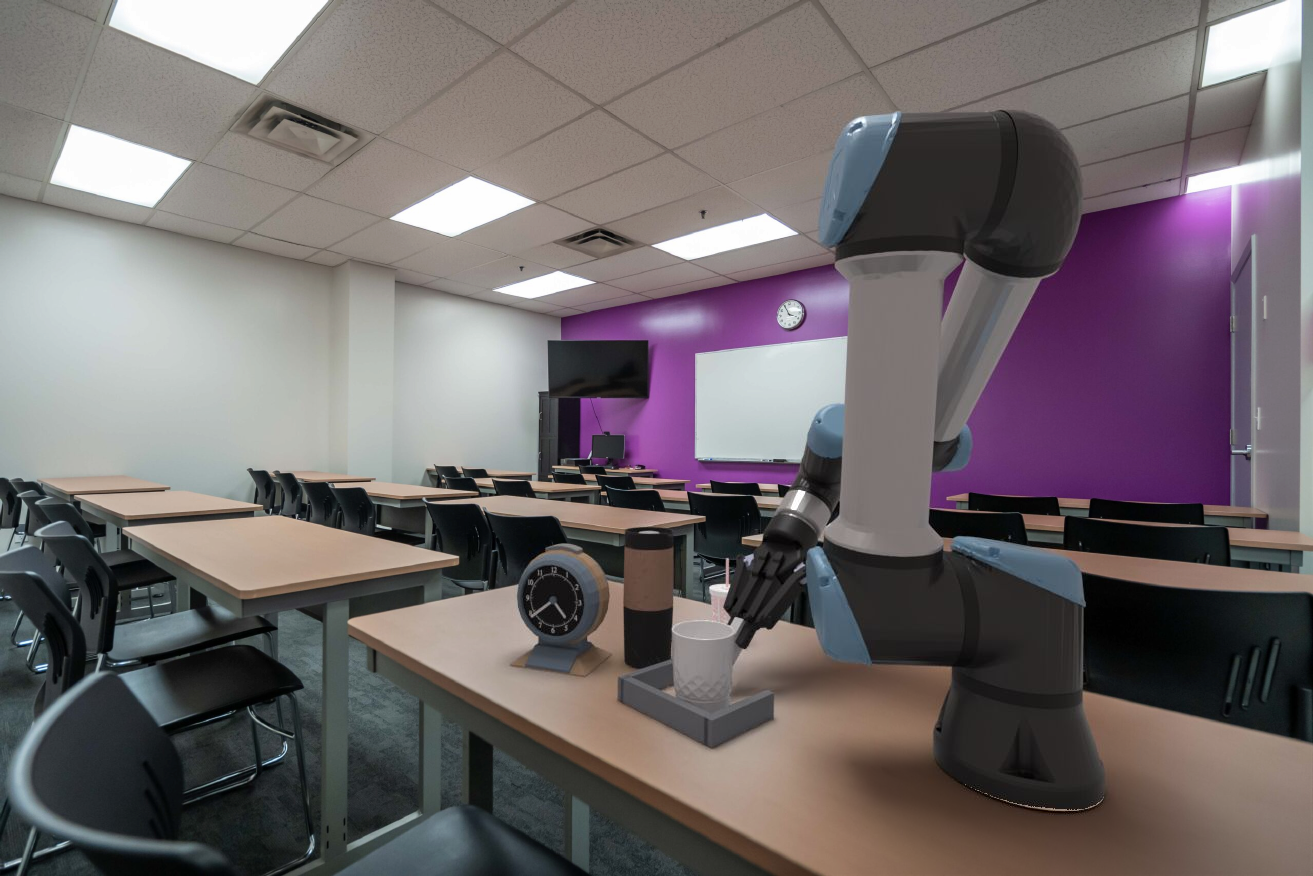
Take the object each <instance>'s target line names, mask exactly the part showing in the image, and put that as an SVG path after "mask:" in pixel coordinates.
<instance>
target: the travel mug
mask: <svg viewBox="0 0 1313 876" xmlns="http://www.w3.org/2000/svg"><path fill="white" fill-rule="evenodd" d="M674 535H675V533H674V530H673V529H672V528H668V527H660V526H659V527H658V526H657V527H656V526H634V527H628V528H626V529H625V531H624V557H623V558H624V560H623V561H624V563H623V564H624V565H623V568H624V569H623V596H622V597H623V598H622V599H623V603H622V604H623V607H622V609H623V655H624V663H625V664H626V665H627V666H629V667H631V668H634V669H637V670H639V669H643V668H646V667H649V666H652V665H655V664H658V663H661V662H664V661H667V660H670V659H672V627H673V623H674V622H673V619H674V618H673V616H674Z"/></svg>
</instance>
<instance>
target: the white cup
mask: <svg viewBox="0 0 1313 876" xmlns="http://www.w3.org/2000/svg"><path fill="white" fill-rule="evenodd" d="M734 637H735V630H734V629H733V628H732V627H731V626H729V625H727V624H724V623H720V622H715V621H712V620H705V619H704V620H701V619H699V620H698V619H697V620H695V619H694V620H686V621H685V620H684V621H681V622H678V623H676V624H674V625H672V646H671V655H672V659H673V677H674V685H673V687H674V697H676V698H678V699H680V700H683V701H685V702H687V703H689V704H691V705H694V706H696V707H698V708H700V709H702V710H705V711H707V712H709V713H711V714H712V713H714V712H716V711H718V710H721V709H723V708H725V707H728V706H730V705H731V688H732V682H733V670H734V666H733V656H734Z"/></svg>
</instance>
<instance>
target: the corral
mask: <svg viewBox="0 0 1313 876" xmlns="http://www.w3.org/2000/svg"><path fill="white" fill-rule="evenodd" d="M671 686H674V677H673V658H671V659H670V660H667V661H664V662H661V663H658V664H655V665H652V666H649V667H646V668H643V669H637V670H634V671H630V672H627V673H625V674H622V675H618V676H617V700H618V701H619V702H621V703H623V704H625V705H627V706H629V707H631V708H633V709H635V710H636V711H639V712H641V713H642V714H644V715H646V716H649V717H650V718H652V719H654V720H656V721H658V722H660V723H661V724H664V725H666V726H667V727H669V728H671V729H674V730H676V731H678V732H679V733H681V734H683V735H685V736H687V737H689V738H691V739H693V740H695V741H696V742H699V743H701V744H703V745H704V746H707V748H708V747H709V748H710V749H713V748H715V747H718V746H719V745H721V744H724V743H725V742H727V741H729V740H731V739H733V738H736V737H737V736H739V735H742V734H744V733H745V732H747V731H749V730H751V729H754V728H756V727H758V726H760V725H761V724H764V723H765V722H768V721H771V720H773V719H774V717H775V693H774V692H773V691H771V690H767V689H765V690H762V691H761V692H758V693H756V694H755V693H754V694H753V695H751V696H749V697H746V698H744V699H742V700H739V701H737V702H734V703H732V704H730V706H728V707H725V708H723V709H721V710H718V711H716V712H714V713H712V714H711V713H709V712H707V711H705V710H702V709H700V708H698V707H696V706H694V705H691V704H689V703H687V702H685V701H683V700H680V699H678V698H676V697H675V695H674V696H673V695H671V694H670V693H667V692H665V691H663V690H662V689H665V688H668V687H671Z"/></svg>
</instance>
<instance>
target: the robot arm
mask: <svg viewBox="0 0 1313 876" xmlns="http://www.w3.org/2000/svg"><path fill="white" fill-rule="evenodd" d="M823 186H824V187H823V190H822V195H821V202H820V208H819V214H818V215H819V216H818V241H819V243H820V245H821V246H823V247H825V248H827V249H829V250H830V249H833V248H834V250H835V251H834V252H835V253H834V268H835V269H836V271H838V272H839V273H840V274H841V276H842V277H843V278H845V279H846V281H847V282H848V284H849V292H848V293H849V294H848V295H849V296H848V317H847V319H848V320H847V341H846V358H845V359H846V361H845V381H844V382H845V384H844V403H839V402H837V403H832V404H831V403H830V404H827V405H825V406H823V407H821V408H820V409H819V410H818V411H817V412H816V414H815V415H814V417H813V420H812V421H811V424H810V427H809V428H808V431H807V437H806V441H805V446H804V451H803V455H802V458H801V461H800V464H799V468H798V469H799V470H797V471H798V472H797V474H796V475H795V478H794V479H793V481H792V483H791V484H790V487H789V489H788V490H787V491H786V494H785V495H784V497H782V500H781V501H780V503H779V505H778V507H777V508H776V510H775V512H774V515H773V516H772V517H771V519H770V520H769V523H768V525H767V526H766V528H765V530H764V532H763V534H762V540H761V543H760V544H759V546H758V547H756V548H755V549H754V550H753V553H751V554H749V555H746V556H745V555H744V554H743V553H739V554H737V555H736V558H735V561H736V564H735V565H736V567H735V570H734V573H733V576H732V580H731V582H730V584H731V585H730V588H729V591H728V594H727V597H726V600H725V603H724V606H723V608H724V609H725V611H726V612H727V613H728V614H729V616H730V620H729V622H728V623H727V625H729V626H731V627H732V628H733V629H734V630H735V637H734V656H733V667H734V666H735V664H736V662H737V660H738V658H739V656H740V654H741V653H742V650H747V649H748V648H749V646H750V644H751V642H752V641H753V639H754V636H755V635H756V632H758V631H759V630H760V629H766V630H769V631H770V630H772V629H773V628H774V627H775V625H777V623H778V622H779V621H780V620H781V618H782V617H783V616H784V615H785V613H786V612H787V610H789V609H790V607H791V606H792V605H793V603H794V602H795V601H796V600H797V599H798V598H799V596H800V594H801V593H802V592H803V591H804V590H805V589H806V588H807V593H808V600H809V605H810V611H811V615H812V616H811V617H812V621H813V625H814V630H815V633H816V636H817V640H818V641H819V644H820V647H821V649H822V650H823V652H824V653H825V654H826V655H827V656H828V657H829V658H830V659H831V660H834V661H836V662H843V663H854V664H864V665H865V666H867V667H872V665H881V666H882V665H883V666H884V665H886V666H912V667H914V666H915V667H918V666H919V667H940V668H941V667H943V668H950V667H951V681H950V686H949V687H948V690H947V693H946V696H945V698H944V701H943V704H942V707H941V708H940V712H939V713H938V718H937V721H936V723H935V725H934V727H933V733H932V754H933V757H934V759H935V761H936V763H937V764H938V766H940V768H941V769H943V771H944V772H945V773H947V772H948V773H949V774H950V776H951V777H952V776H953V777H954V778H953V777H952V778H953V779H955V780H956V779H957V780H956V781H958V780H959V781H960V783H961V782H962V783H961V784H963V785H964V784H966V785H967V786H966V785H965V786H966V787H968V786H969V787H968V788H970V787H972V788H973V789H972V788H971V789H972V790H974V789H976V790H979V791H981V792H983V793H987V794H988V795H991V796H993V797H996V798H999V799H1003V800H1007V801H1009V802H1013V803H1017V804H1022V805H1028V806H1031V807H1032V806H1033V807H1034V806H1035V807H1041V808H1042V807H1045V808H1053V809H1054V808H1055V809H1067V810H1069V809H1070V810H1071V809H1072V810H1074V809H1075V810H1077V809H1085V808H1088V807H1090V806H1093V805H1096V804H1097V803H1098V802H1100V801H1101V800H1102V799H1103V797H1104V795H1105V796H1106V770H1105V766H1104V764H1103V761H1102V760H1101V757H1100V754H1099V751H1098V748H1097V745H1096V742H1095V739H1094V735H1093V733H1092V730H1091V727H1090V725H1089V721H1088V719H1087V715H1086V713H1085V709H1084V699H1083V698H1084V695H1083V694H1084V692H1083V691H1084V687H1083V686H1084V684H1083V683H1084V608H1086V605H1087V603H1086V601H1085V594H1084V593H1085V592H1084V586H1083V585H1084V584H1083V575H1082V571H1081V569H1080V567H1079V565H1078V564H1077V563H1076V562H1075V561H1074V560H1072V558H1069V557H1068V556H1066V555H1062V554H1060V553H1058V552H1053V551H1049V550H1045V549H1042V548H1037V547H1032V546H1029V545H1024V544H1023V545H1022V544H1017V543H1013V542H1007V541H1003V540H995V539H989V538H983V537H975V536H961V535H959V536H958V535H957V536H955V537H953V539H952V541H951V544H949V548H950V551H948V550H947V551H946V550H945V551H944V547H945V545H944V543H945V542H944V539H943V538H942V537H941V536H940V535H939V534H938V533H937V532H936V531H935V530H934V528H932V526H931V525H930V523H929V520H930V519H929V517H930V502H931V501H930V500H931V489H932V487H931V486H932V474H933V473H936V474H937V473H941V472H956V471H960V470H962V469H964V468H965V467H966V466H967V465H968V464H969V461H970V459H971V452H972V449H973V436H972V433H971V430H970V428H969V426H968V424H967V422H968V420H969V418H970V416H971V415H972V413H973V410H974V409H975V407H976V404H977V403H978V401H979V399H980V397H981V395H982V393H983V391H984V389H985V388H986V385H987V384H988V382H989V380H990V378H991V376H992V374H993V372H994V370H995V368H996V367H997V365H998V363H999V361H1000V359H1001V357H1002V355H1003V353H1004V351H1005V350H1006V348H1007V346H1008V344H1009V342H1010V340H1011V338H1012V336H1013V335H1014V332H1015V331H1016V328H1017V327H1018V324H1019V323H1020V321H1021V319H1022V317H1023V315H1024V313H1025V311H1026V310H1027V307H1028V305H1029V304H1030V302H1031V299H1032V298H1033V296H1034V294H1035V293H1036V290H1037V288H1038V286H1039V285H1040V282H1041V281H1042V279H1043V280H1044V279H1046V278H1049V277H1051V276H1054V275H1055V274H1056V273H1057V272H1058V271H1059V270H1060V269H1061V266H1062V265H1063V263H1064V261H1065V259H1066V258H1067V255H1068V253H1069V251H1070V250H1071V249H1072V246H1073V244H1074V242H1075V239H1076V237H1077V234H1078V231H1079V226H1080V222H1081V220H1082V219H1081V218H1082V214H1083V205H1084V198H1085V197H1084V192H1085V191H1084V180H1083V174H1082V169H1081V166H1080V162H1079V159H1078V155H1077V154H1076V151H1075V149H1074V147H1073V145H1072V144H1071V143H1070V141H1069V140H1068V138H1067V137H1066V135H1065V134H1064V133H1063V132H1062V130H1060V129H1059V128H1058V127H1057V126H1056V125H1055V123H1053V122H1051V121H1049V120H1048V119H1046V118H1044V117H1043V116H1041V115H1038V114H1037V113H1033V112H1029V111H1025V110H1021V109H1020V110H1017V109H998V110H994V111H993V110H992V111H985V110H984V111H947V112H946V111H944V112H941V111H940V112H939V111H938V112H936V111H935V112H902V111H900V110H898V111H893V112H892V113H886V114H876V115H875V114H874V115H864V116H863V115H862V116H859V117H856V118H854V119H853V120H851V121H850V122H849V123H848V124H847V125H846V126H844V128H843V130H842V131H841V132H840V135H839V137H838V139H837V141H836V144H835V146H834V150H833V153H832V156H831V159H830V161H829V165H828V170H827V173H826V177H825V181H824V185H823ZM964 258H965V262H964V264H963V267H962V270H961V272H960V274H959V277H958V278H957V279H958V280H957V282H956V285H955V287H954V290H953V292H952V295H951V298H950V300H949V303H948V305H947V308H946V311H945V313H944V315H943V305H944V288H945V287H944V285H945V280H946V279H947V277H948V276H949V275H950V274H952V272H953V271H955V270H956V269H957V268H958V266H959V265H961V264H962V263H963V261H964ZM838 502H839V514H838V516H837V517H836V518H835V519H834V520H833V521H832V522H830V523H829V524H828V522H829V520H830V519H831V517H832V515H833V512H834V510H835V509H836V507H837V504H838ZM827 524H828V525H827ZM822 535H823V543H822V544H823V545H822V547H821V546H818V545H817V544H818V543H819V539H820V538H821V536H822ZM948 773H947V774H948ZM949 774H948V775H949ZM959 781H958V782H959ZM976 790H975V791H976ZM1104 798H1105V797H1104Z"/></svg>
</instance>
